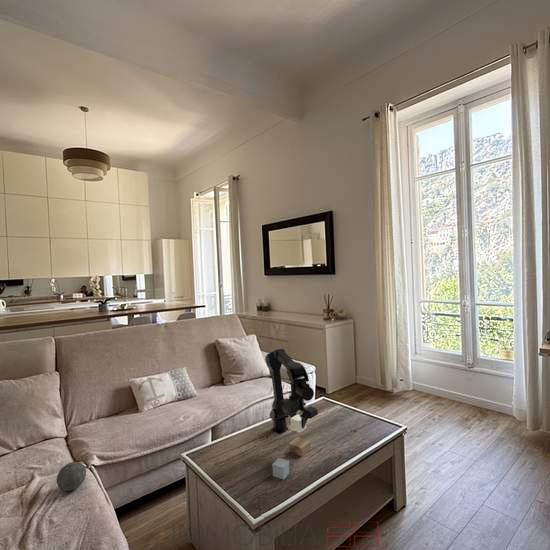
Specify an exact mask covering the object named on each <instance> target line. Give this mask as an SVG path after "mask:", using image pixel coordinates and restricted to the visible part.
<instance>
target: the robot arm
mask: <svg viewBox="0 0 550 550" xmlns="http://www.w3.org/2000/svg"><path fill="white" fill-rule="evenodd" d="M264 358H265V362H266V366H267V368H268V369H269V370H270V374H271V384H272V390H273V398H274V399H273V402H272V404H271V408H272V409H271V410H270V412H269V418H270V419H271V420H272V424H273V426H272V427H271V431H273V432H274V433H278V434H282V433H284V432H286V431H287V430H289V427H288V426H287V425H288V424H287V419H288V418H290V419H291V418H292V417H294V416H295V415H297V412H301V414H299V415H300V417H301V422H302V428H304V427H305V425H306V426H307V422H308V420H310V419H311V420H312V418H314V417H317V416H318V415H319V410H318V408H317V407H314V406H311V405H309V406H308V407H306V405H307V403H306V402H305V401H307V402H308V401H311V400H312V399H313V397H314V395H315V392H314V389H313V388H312V386H311V387H310V384H309V383H308V382H309V381H310V378H309V375H308V372H307V371H306V368H305V366H304V365H303V364H302V363H300V362H298V361H294V359H292V358H291V356H290V355H289V354H288V352H287V353H286V351H285V349H284V348H280V349H279V348H277V349H275V350H273V351H271V352H269V353H267V354H266V356H265V357H264ZM282 365H283V367H284V368H285V369H286V375H287V376H288V381H290V395H288V398H284V391H283V383H282V377H281V376H282V375H281V368H282Z"/></svg>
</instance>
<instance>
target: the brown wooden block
mask: <svg viewBox="0 0 550 550" xmlns="http://www.w3.org/2000/svg"><path fill="white" fill-rule="evenodd" d="M309 451H311V441H310V440H309V439H308V440H307V439H305V438H302V437H299V436H296V437H295V438H293V440H292V441H291V442H289V443H288V452H289V453H291V452H292V453H291V454H294V455H297V456H299V457H304V456H305V455H306V454H307V453H308V452H309Z"/></svg>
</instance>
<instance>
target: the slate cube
mask: <svg viewBox="0 0 550 550" xmlns="http://www.w3.org/2000/svg"><path fill="white" fill-rule="evenodd" d="M271 465H272V477H274V478H278V479H280V480H286V477H287V476H288V475H289V474H290V460H288V459H284V458H282V457H277V459H276V460H275V461H274V462H273V463H272V464H271Z"/></svg>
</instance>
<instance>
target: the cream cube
mask: <svg viewBox="0 0 550 550" xmlns="http://www.w3.org/2000/svg"><path fill="white" fill-rule="evenodd" d="M300 415H301V414H297V413H296V415H295V416H294V417H292V418H290V430H293V431H295V432H297V433H301V432H304V430H306V429H307V424H306V425H305V427H304V428H302V422H301V417H300Z"/></svg>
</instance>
